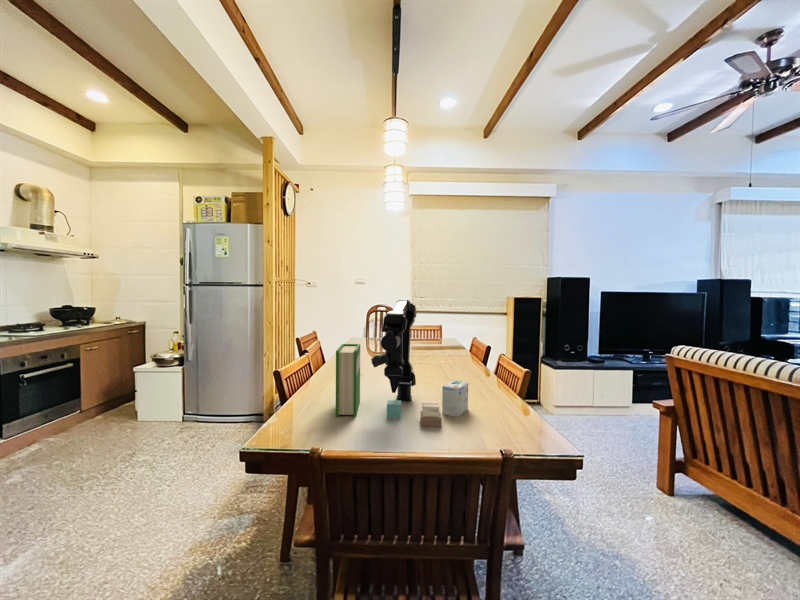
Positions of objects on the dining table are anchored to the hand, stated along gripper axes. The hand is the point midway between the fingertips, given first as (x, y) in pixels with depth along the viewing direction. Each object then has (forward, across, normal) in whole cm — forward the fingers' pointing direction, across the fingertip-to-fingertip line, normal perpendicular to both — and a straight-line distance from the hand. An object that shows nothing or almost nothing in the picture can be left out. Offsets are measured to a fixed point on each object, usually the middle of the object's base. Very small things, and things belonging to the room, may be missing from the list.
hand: (394, 389), depth 132 cm
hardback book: (+10, -6, -18) cm, 21 cm away
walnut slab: (+10, +7, +13) cm, 18 cm away
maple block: (+6, +7, +13) cm, 16 cm away
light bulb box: (+10, -6, +23) cm, 26 cm away
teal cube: (+10, 0, 0) cm, 10 cm away
